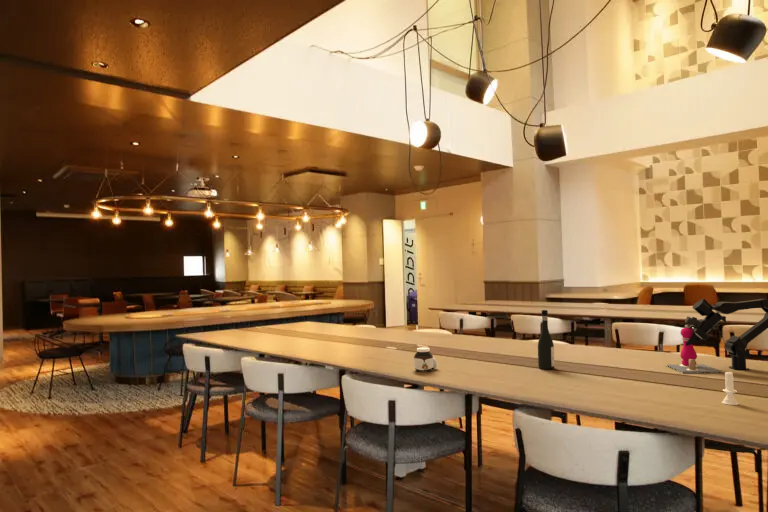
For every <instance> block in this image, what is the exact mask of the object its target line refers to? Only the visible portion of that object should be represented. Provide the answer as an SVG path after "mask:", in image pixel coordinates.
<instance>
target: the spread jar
mask: <svg viewBox="0 0 768 512" xmlns="http://www.w3.org/2000/svg"><path fill="white" fill-rule="evenodd" d="M430 350H431V349H430V347H427V346H426V347H422V346H421V347H417V348H416V353H414V356H413V367H414V369H415V370H416V371H417V370H418V371H429V372H431V371H432V370H433V369H432V368H435V369H437V367H438V366H439V362H438V360H437V358H436V357H435V356H434V355H433V354H432V353H431V351H430ZM430 370H431V371H430ZM418 371H417V372H418Z"/></svg>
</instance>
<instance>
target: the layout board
mask: <svg viewBox="0 0 768 512" xmlns="http://www.w3.org/2000/svg"><path fill="white" fill-rule="evenodd" d="M695 361H696V359H689V366H686V365H682V363H679V364H666V365H667V366H669V367H671V368H674V369H676V370H678V371H680V372H684V373H683V374H702V373H701V372H704V373H703V374H706V373H705V372H710V373H709V374H720V373H719V372H722V373H723V370H720V369H718V368H715V367H713V366H709V365H707V364H705V363H704V364H703V363H700V364H697V361H696V362H695ZM667 366H666V367H667ZM671 368H670V369H671ZM676 370H675V371H676ZM678 371H677V372H678ZM680 372H679V373H680ZM697 372H698V373H697Z"/></svg>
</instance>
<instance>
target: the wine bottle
mask: <svg viewBox="0 0 768 512" xmlns="http://www.w3.org/2000/svg"><path fill="white" fill-rule="evenodd" d="M541 318H542V319H541V322H542V323H541V324H542V325H541V326H542V327H541V328H542V329H541V332H540V333H541V334H540V336H539V339H538V342H537V362H538V365H537V366H538V368H539V369H542V370H553V369H554V368H555V346H554V345H555V344H554V341H553V338H552V336H551V334H550V331H549V325H548V323H549V322H548V310H547V309H542V310H541Z"/></svg>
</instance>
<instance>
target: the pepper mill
mask: <svg viewBox="0 0 768 512" xmlns="http://www.w3.org/2000/svg"><path fill="white" fill-rule="evenodd" d="M689 326H690V325H689V324H685V325H684V327H683V328H681V330H680V335H681V340H682V349H681V350H680V358H681V359H682V361H681V364H682V365H686V366H689V359H695V362H696V363H697V361H696V359H697V358H698V355H697V352H696V349H695V348H694V344H691V345H688V346H686V345H685V344H686V342H687V341H688V340H689V339H690V337H691V336H692V331H693V329H691V328H689ZM693 332H694V331H693Z"/></svg>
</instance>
